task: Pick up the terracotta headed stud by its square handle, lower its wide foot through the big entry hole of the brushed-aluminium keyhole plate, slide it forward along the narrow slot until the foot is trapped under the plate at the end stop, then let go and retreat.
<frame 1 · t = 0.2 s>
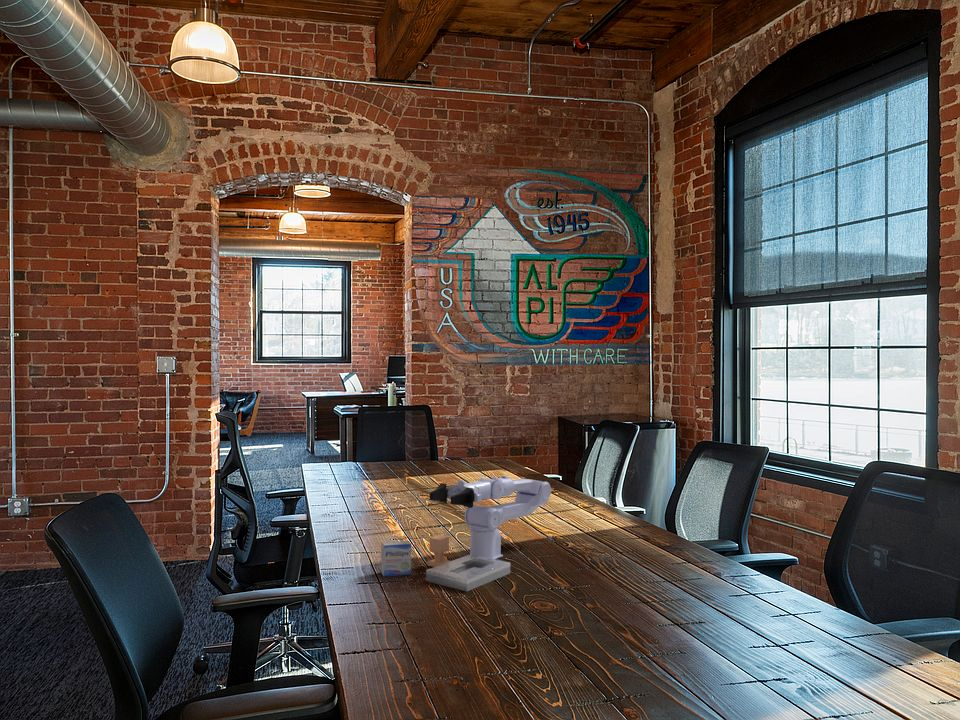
hand: (441, 498, 210), 21 cm above the table, tool horizontal, fingers open, 7 cm apart
headed stud: (439, 564, 218), on the table
medicine box: (396, 574, 210), on the table
keyhole plate: (468, 577, 207), on the table
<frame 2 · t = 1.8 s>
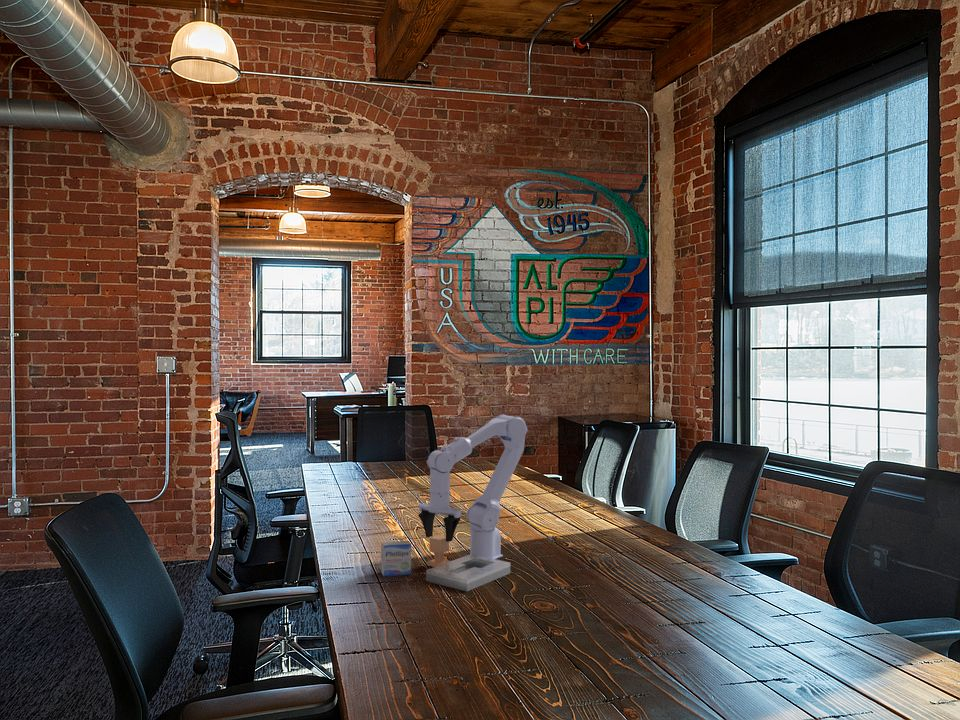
hand: (439, 538, 218), 8 cm above the table, tool pointing down, fingers open, 7 cm apart
nothing on the table moved.
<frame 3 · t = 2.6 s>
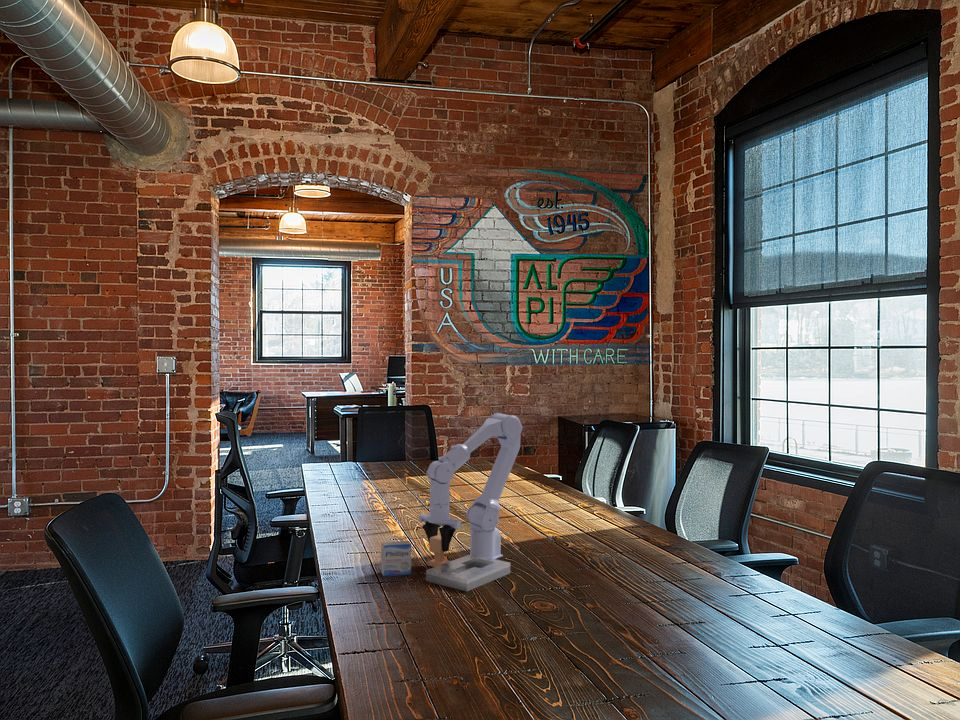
hand: (439, 549, 218), 4 cm above the table, tool pointing down, fingers closed on headed stud, 4 cm apart
headed stud: (439, 564, 218), on the table, touching gripper
everything else where it was.
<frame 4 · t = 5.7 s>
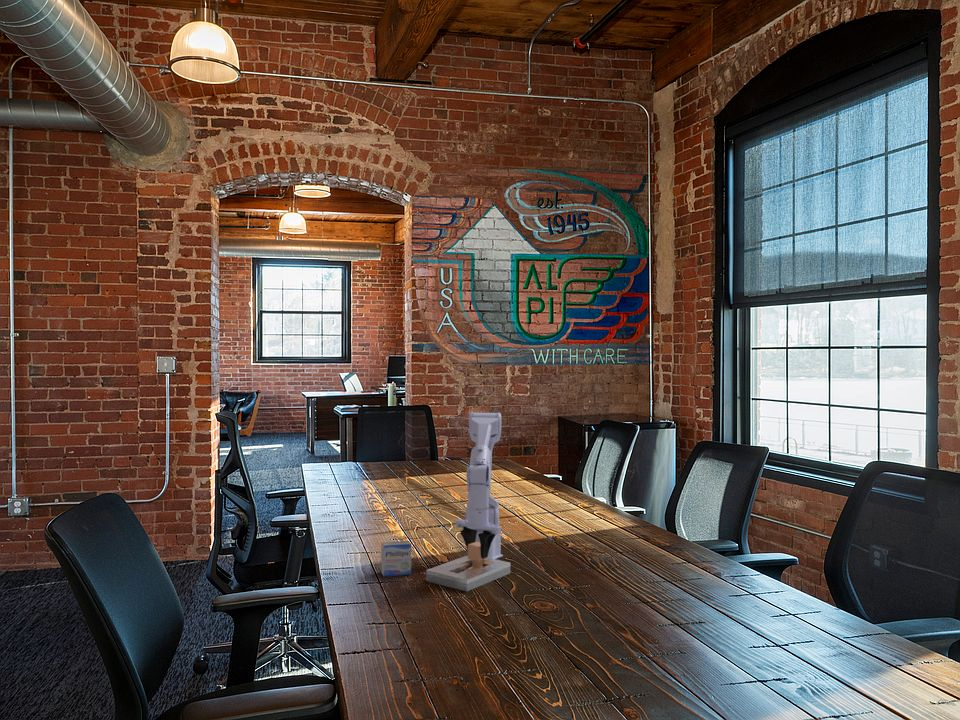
hand: (477, 556, 210), 5 cm above the table, tool pointing down, fingers closed on headed stud, 4 cm apart
headed stud: (477, 572, 210), resting in keyhole plate, touching gripper
everything else where it was.
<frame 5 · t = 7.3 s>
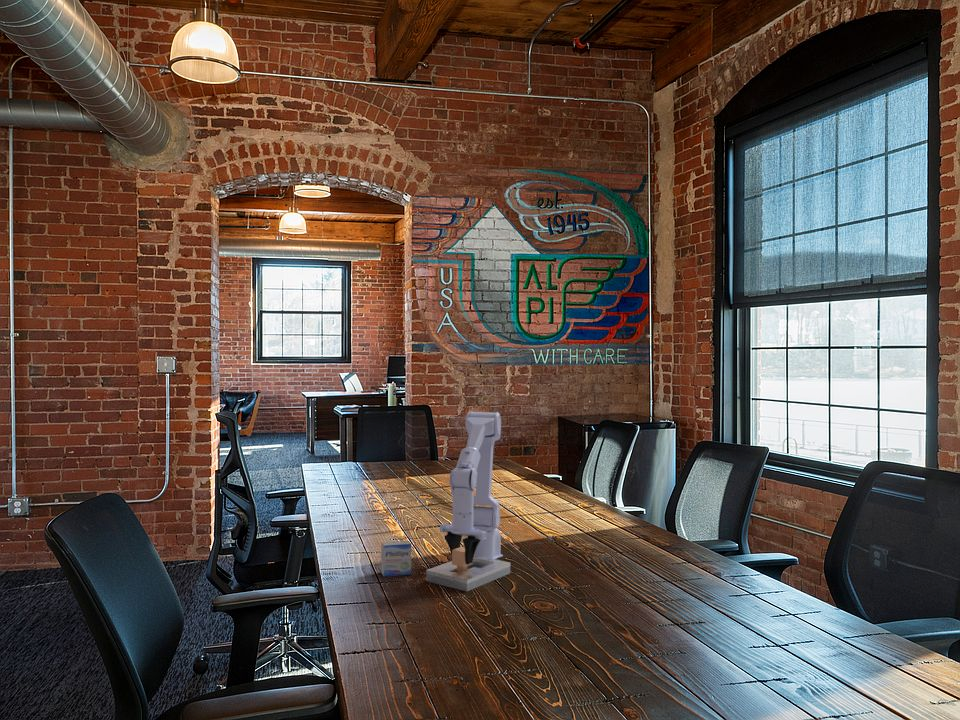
hand: (462, 561, 204), 5 cm above the table, tool pointing down, fingers closed on headed stud, 4 cm apart
headed stud: (462, 578, 204), resting in keyhole plate, touching gripper
everything else where it was.
when the fingers open (5 cm above the table, at t = 8.9 s): headed stud stays where it is, resting in keyhole plate.
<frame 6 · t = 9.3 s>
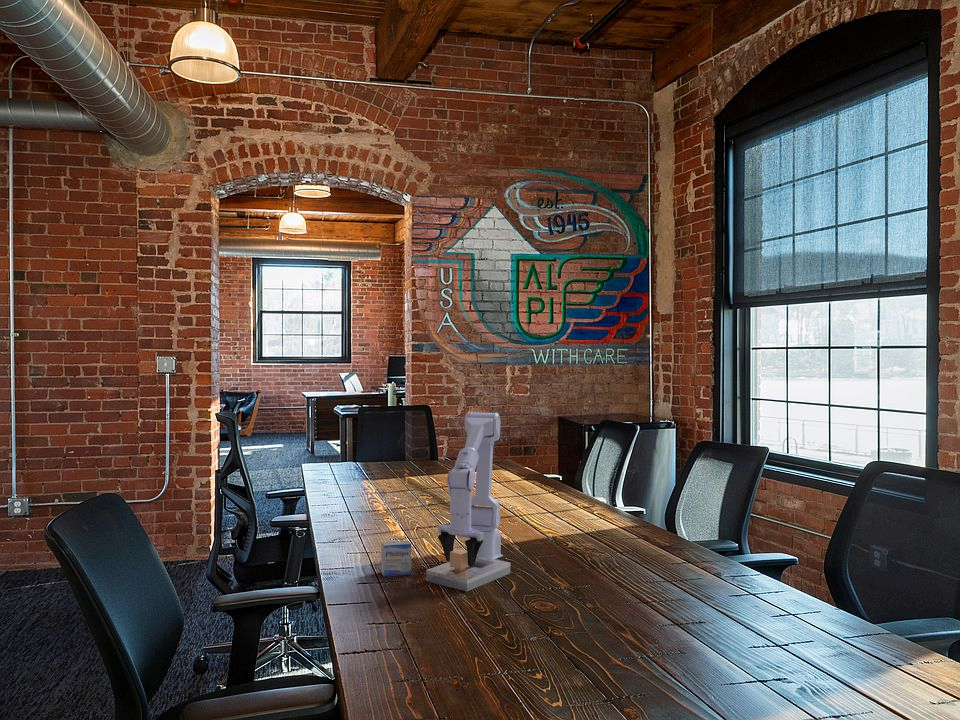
hand: (460, 562, 204), 5 cm above the table, tool pointing down, fingers open, 7 cm apart
headed stud: (460, 580, 204), resting in keyhole plate
everything else where it was.
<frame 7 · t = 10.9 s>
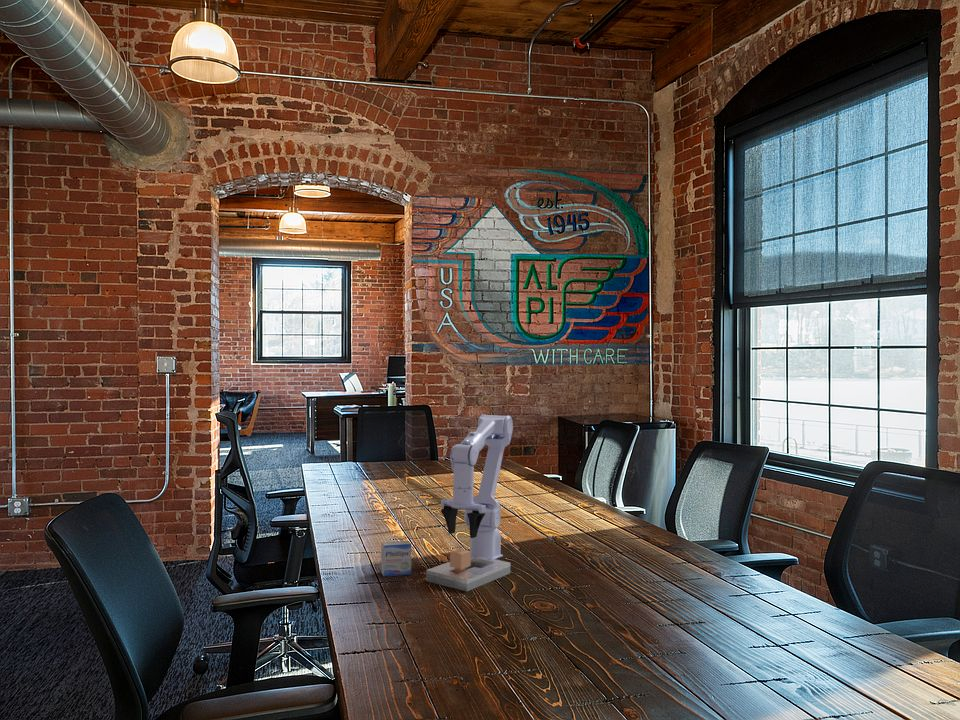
hand: (462, 535, 211), 10 cm above the table, tool pointing down, fingers open, 7 cm apart
nothing on the table moved.
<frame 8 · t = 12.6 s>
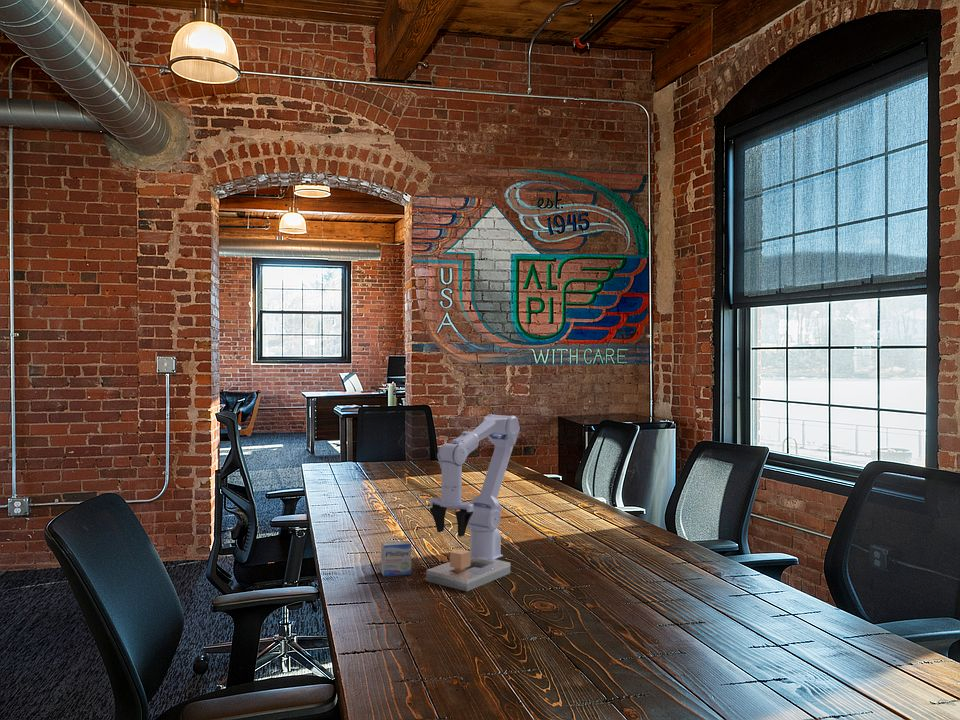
hand: (450, 533, 213), 10 cm above the table, tool pointing down, fingers open, 7 cm apart
nothing on the table moved.
at the end: headed stud 0.0 cm from the target spot on the keyhole plate, point 0.0 cm above the keyhole plate's base; headed stud tilted 0°; the gripper is holding nothing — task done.
